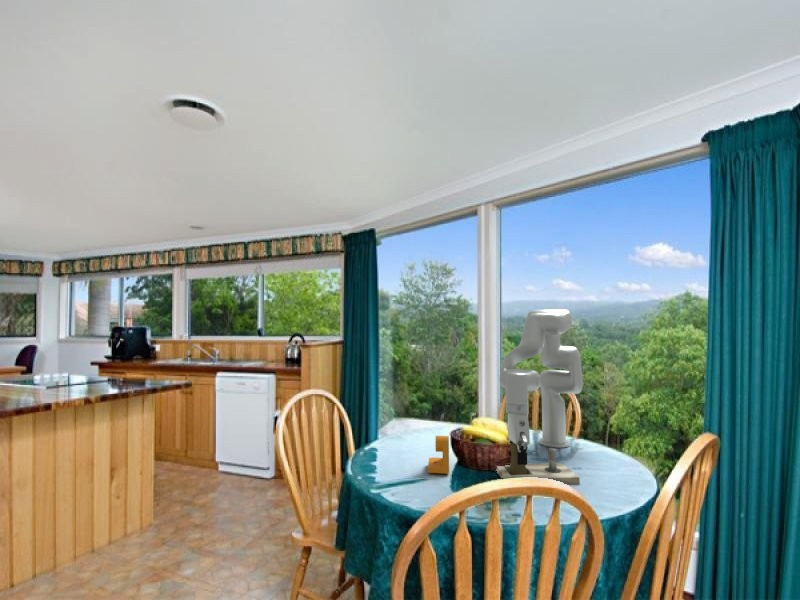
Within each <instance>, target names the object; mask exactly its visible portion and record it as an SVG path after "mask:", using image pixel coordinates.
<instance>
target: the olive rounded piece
mask: <svg viewBox="0 0 800 600" xmlns="http://www.w3.org/2000/svg"><path fill="white" fill-rule="evenodd" d="M520 448H521V446H520ZM510 451H511V456H510V463H509V464H510V470H509V474H510V475H527V472H526V465H518V463H517V452H518V447H517V445H516V444H515V443H512V444H511V445H510Z"/></svg>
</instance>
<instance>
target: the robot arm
mask: <svg viewBox="0 0 800 600" xmlns="http://www.w3.org/2000/svg"><path fill="white" fill-rule="evenodd" d="M572 323H573V317H572V314H571V312H570V311H569V310H568V309H533V310H531V311H529V312H528V313H527V316H526V318H525V322H524V325H523V328H522V334H521V337H520V338H521V339H520V343H519V344H517V346H515V347H514V348H512V350H510V351H509V352H508V353H507V355H506V356H504V359H503V361H502V364H501V368H500V371H499V372H500V374H499V384H500V386H501V388H503V389H505V413H506V414H507V437H508V444H509V443H511V444H512V443H515V444H516V445H517V447H518V452H517V463H518V465H527V464H529V462H528V451H529V450H528V448H529V447H528V445H530V444H531V439H530V438H531V437H530V436H531V435H530V424H529V416H528V415H529V414H530V412H529V411H530V410H529V409H530V408H529V392H535V391H538V390H539V388H540V394H541V427H542V429H541V430H542V433H541V435H542V437H540V438H539V439H538V443H539V444H540V445H542V446H544V447H549V448H554V449H557V448H558V449H559V448H560V449H561V448H568V447H570V445H571V442H570V441H569V440H567V434H566V433H567V432H566V429H567V428H566V427H567V426H566V423H567V422H566V403H565V400H564V398H563V396H562V395H561V394H570V395H571V394H573V395H576V394H577V395H578V394H580V393H581V392H582V391H583V387H584V386H583V385H584V383H583V371H582V359H581V354H580V350H579V349H578V348H577V347H576V346H571V345H570V346H568V345H562V344H561V335H563V334H565V333H566V332H567V331H569V329H570V328H571V326H572ZM539 355H540V361H541V364H542V366H543V367H546V368H548V369H546V370H542V371H541V372H540V373H539V372H538V371H536V370H532V369H523V368H522V369H521V368H514V367H515V366H516V365H517V364H519V363H521V362H523V361H526V360H528V359H531V358H533V357H536V356H539ZM549 368H550V369H549ZM562 369H565V370H562ZM520 446H521V448H520ZM508 455H509V456H510V457H511V451H509V450H508Z"/></svg>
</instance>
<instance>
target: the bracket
mask: <svg viewBox="0 0 800 600" xmlns="http://www.w3.org/2000/svg"><path fill="white" fill-rule="evenodd" d="M436 452H437V453H439V452H440V453H442V457H429V458H428V464H427V473H429V474H450V437H449V435H435V453H436Z"/></svg>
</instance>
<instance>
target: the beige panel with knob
mask: <svg viewBox="0 0 800 600" xmlns="http://www.w3.org/2000/svg"><path fill="white" fill-rule="evenodd" d="M509 470H510V465H505V466H497V469H496V470H495V472H496V471H497V472H496V473H497V474H498V476H499V477H500V478H501V479H502V478H511V477H538V478H548V479H553V480H556V481H560V482H563V483H566V484H565V485H574V484H576V485H578V484H581V480H580V476H578V475H577V474H576V473H575V472H573V470H571V469H570V468H568V467H567V466H565V465H564V464H563V463H561V462H560V463H559V462H557V448H554V447H549V448H548V463H546V462H545V463H528V464H527V465H526V472H527V475H510V474H509Z"/></svg>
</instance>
